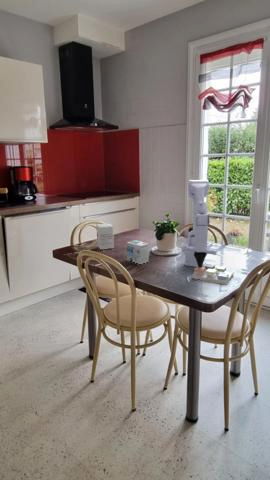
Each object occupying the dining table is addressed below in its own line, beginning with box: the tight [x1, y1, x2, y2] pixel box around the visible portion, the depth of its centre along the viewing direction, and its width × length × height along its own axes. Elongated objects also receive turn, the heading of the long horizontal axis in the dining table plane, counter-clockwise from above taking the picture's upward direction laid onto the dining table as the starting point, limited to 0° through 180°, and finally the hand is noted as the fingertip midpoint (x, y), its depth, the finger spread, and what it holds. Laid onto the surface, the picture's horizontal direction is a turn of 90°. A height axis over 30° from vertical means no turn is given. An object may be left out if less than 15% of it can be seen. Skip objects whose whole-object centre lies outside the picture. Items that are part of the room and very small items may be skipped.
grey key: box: [203, 263, 216, 270], centre depth 159 cm, size 4×4×2 cm
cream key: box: [206, 268, 217, 275], centre depth 152 cm, size 4×4×2 cm
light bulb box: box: [126, 239, 150, 265], centre depth 178 cm, size 11×7×11 cm, turn 45°
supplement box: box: [96, 222, 115, 249], centre depth 204 cm, size 9×9×15 cm
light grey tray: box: [191, 266, 235, 285], centre depth 155 cm, size 16×13×2 cm
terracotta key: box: [193, 266, 206, 274], centre depth 155 cm, size 4×4×2 cm
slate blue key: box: [217, 273, 229, 280], centre depth 150 cm, size 4×4×2 cm
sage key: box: [215, 265, 227, 272], centre depth 156 cm, size 4×4×2 cm
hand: (200, 267), depth 155 cm, fingers closed
